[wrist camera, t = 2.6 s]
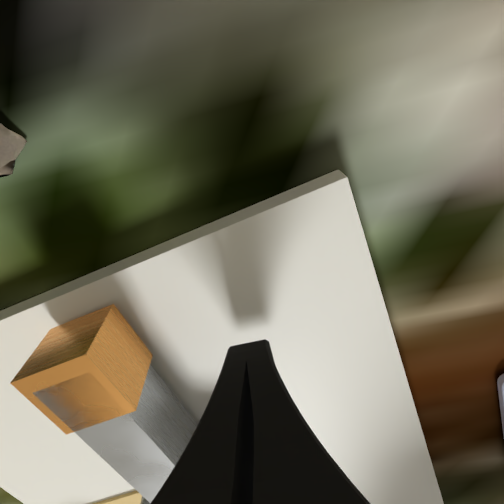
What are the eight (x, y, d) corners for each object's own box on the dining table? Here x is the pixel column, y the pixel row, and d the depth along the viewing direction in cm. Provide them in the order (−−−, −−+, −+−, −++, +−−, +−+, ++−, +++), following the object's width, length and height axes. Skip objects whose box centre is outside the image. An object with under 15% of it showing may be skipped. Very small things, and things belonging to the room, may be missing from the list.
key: (308, 493, 18) (319, 560, 15) (189, 526, 19) (182, 593, 16) (170, 277, 11) (153, 332, 9) (3, 345, 12) (-54, 410, 10)
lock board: (338, 169, 11) (386, 211, 8) (443, 514, 21) (484, 601, 18) (-123, 362, 14) (-246, 459, 10) (166, 584, 24) (154, 671, 21)
